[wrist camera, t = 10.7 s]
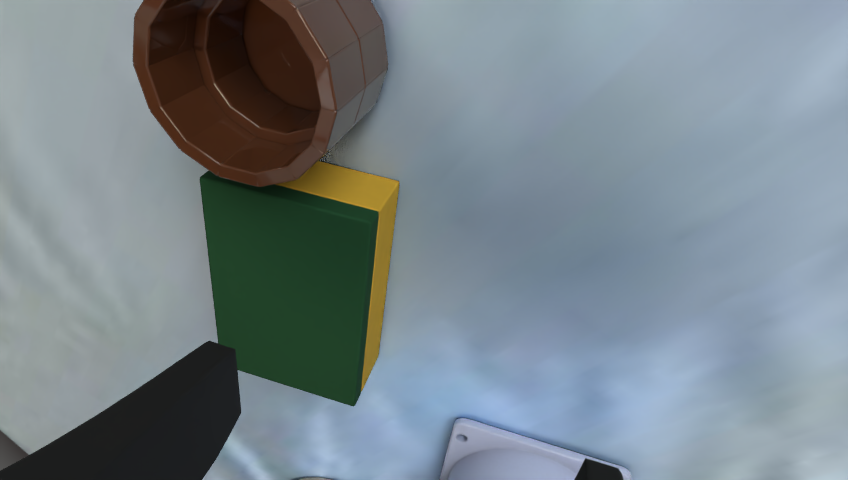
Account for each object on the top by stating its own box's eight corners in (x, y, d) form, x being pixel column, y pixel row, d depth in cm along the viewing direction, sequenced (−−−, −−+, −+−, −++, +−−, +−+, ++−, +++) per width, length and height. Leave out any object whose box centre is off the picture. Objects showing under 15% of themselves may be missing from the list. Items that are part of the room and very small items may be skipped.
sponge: (378, 355, 25) (354, 407, 22) (256, 319, 26) (219, 365, 23) (400, 180, 20) (371, 222, 17) (246, 141, 20) (198, 177, 18)
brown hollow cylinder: (385, 143, 19) (332, 207, 15) (233, 106, 20) (148, 158, 16) (403, -36, 16) (342, -10, 12) (221, -71, 17) (111, -57, 13)
